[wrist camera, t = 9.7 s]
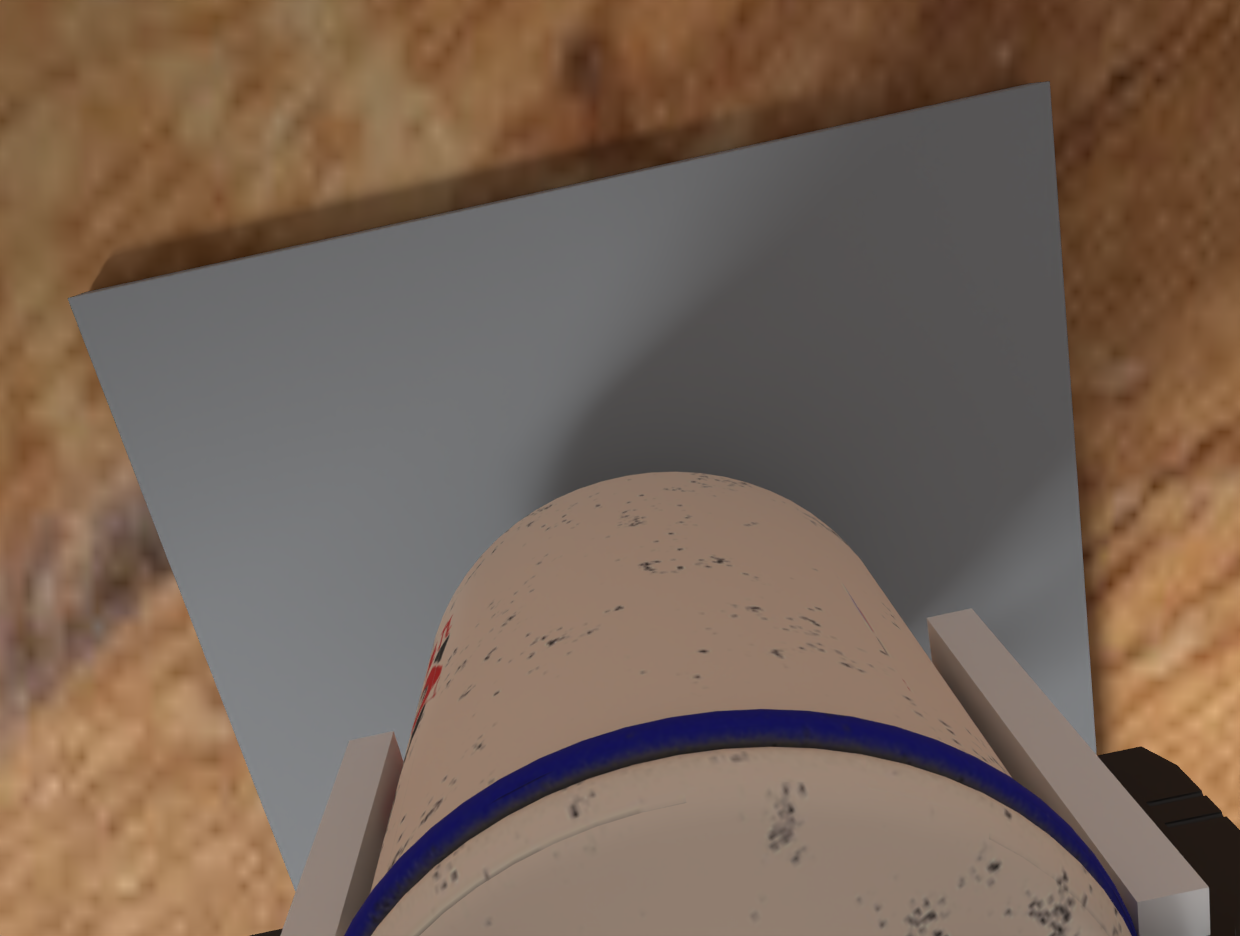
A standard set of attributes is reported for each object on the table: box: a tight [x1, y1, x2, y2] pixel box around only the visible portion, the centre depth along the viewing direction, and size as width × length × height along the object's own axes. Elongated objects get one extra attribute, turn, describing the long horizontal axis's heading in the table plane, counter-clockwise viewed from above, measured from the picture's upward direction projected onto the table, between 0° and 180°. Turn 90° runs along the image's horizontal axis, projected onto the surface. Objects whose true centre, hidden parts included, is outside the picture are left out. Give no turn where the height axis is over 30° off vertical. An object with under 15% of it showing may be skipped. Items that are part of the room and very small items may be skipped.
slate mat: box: [68, 81, 1097, 891], centre depth 22 cm, size 18×18×1 cm
